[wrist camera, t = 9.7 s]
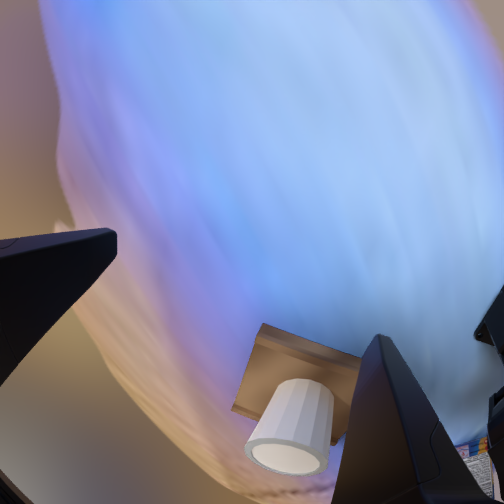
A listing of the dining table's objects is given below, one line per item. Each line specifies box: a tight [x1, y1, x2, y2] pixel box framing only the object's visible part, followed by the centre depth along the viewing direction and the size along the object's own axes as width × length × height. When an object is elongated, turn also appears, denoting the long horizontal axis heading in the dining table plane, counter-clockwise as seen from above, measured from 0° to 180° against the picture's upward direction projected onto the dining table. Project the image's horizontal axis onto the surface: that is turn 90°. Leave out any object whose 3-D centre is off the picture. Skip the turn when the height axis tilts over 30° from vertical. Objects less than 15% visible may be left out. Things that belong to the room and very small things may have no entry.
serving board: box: [231, 323, 362, 446], centre depth 25 cm, size 12×12×2 cm
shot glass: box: [244, 378, 334, 476], centre depth 22 cm, size 7×7×7 cm
